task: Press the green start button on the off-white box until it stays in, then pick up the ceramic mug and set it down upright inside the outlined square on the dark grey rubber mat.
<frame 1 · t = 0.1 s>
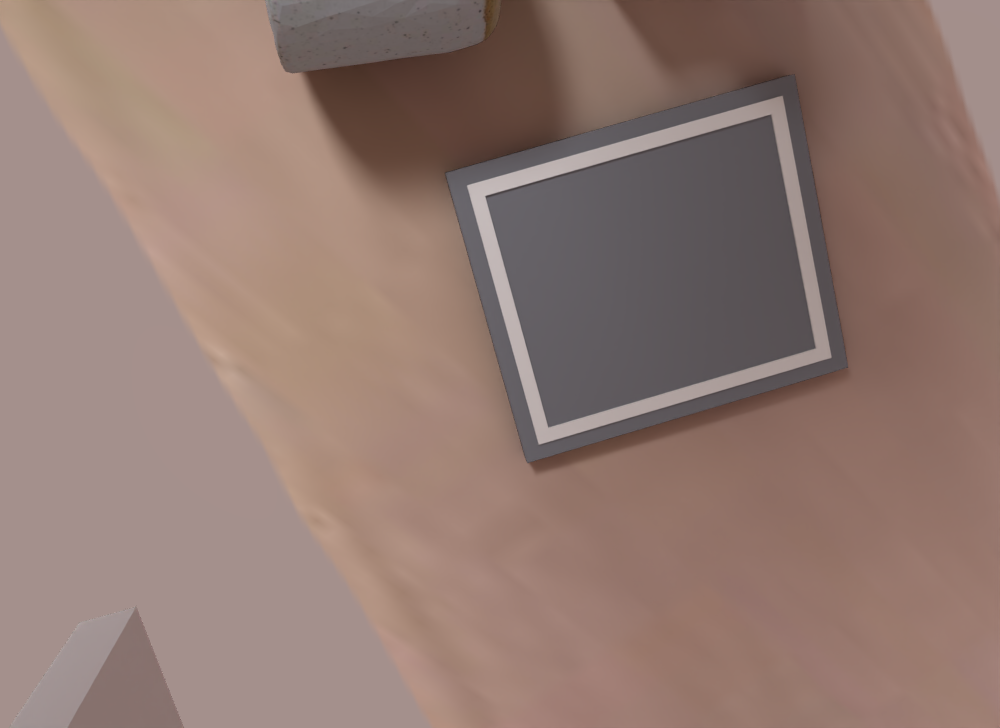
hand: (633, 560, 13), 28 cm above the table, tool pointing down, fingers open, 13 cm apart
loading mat: (651, 272, 40), on the table
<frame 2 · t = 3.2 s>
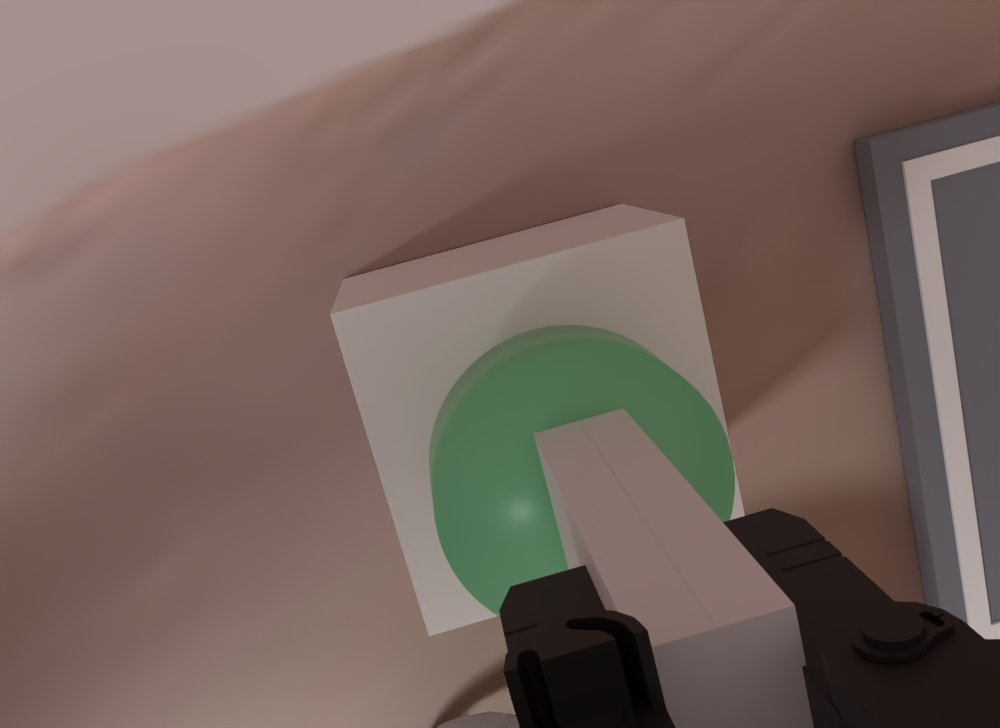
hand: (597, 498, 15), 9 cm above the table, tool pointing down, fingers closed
start button: (575, 476, 16), point 7 cm above the table, slide at 0.8 cm, touching gripper
button box: (518, 376, 23), on the table
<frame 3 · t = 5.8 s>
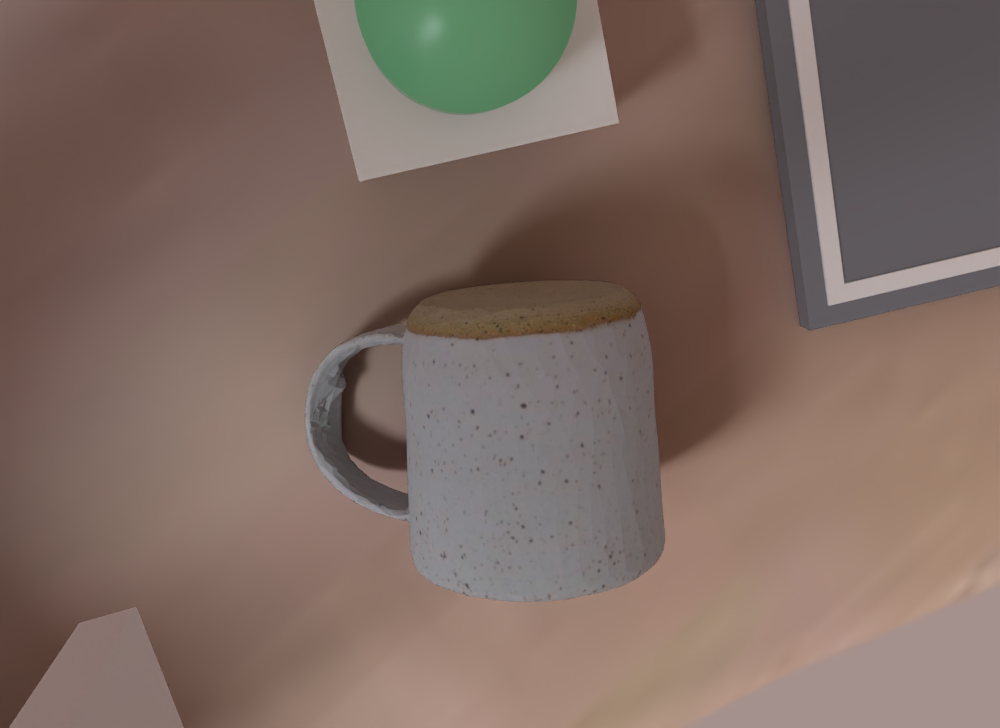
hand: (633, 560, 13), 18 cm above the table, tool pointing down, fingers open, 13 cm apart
start button: (464, 2, 22), point 7 cm above the table, slide at 1.4 cm
button box: (451, 35, 28), on the table
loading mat: (962, 57, 30), on the table
ceramic mug: (476, 405, 31), on the table
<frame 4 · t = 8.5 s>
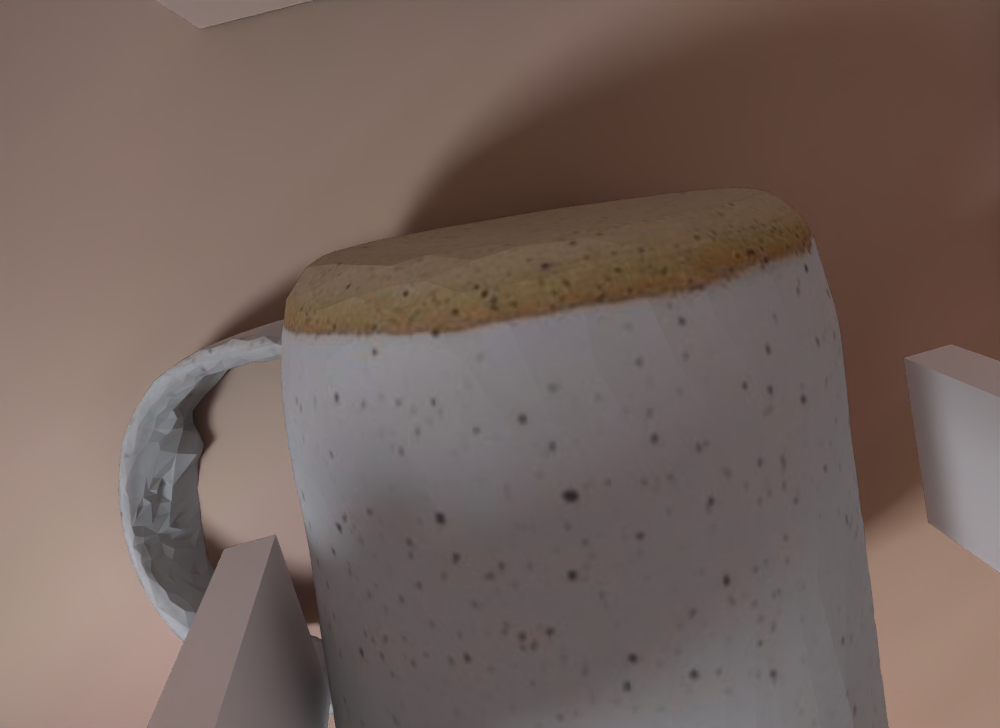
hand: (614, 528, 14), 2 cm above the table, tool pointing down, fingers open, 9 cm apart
ceramic mug: (463, 458, 17), on the table, touching gripper
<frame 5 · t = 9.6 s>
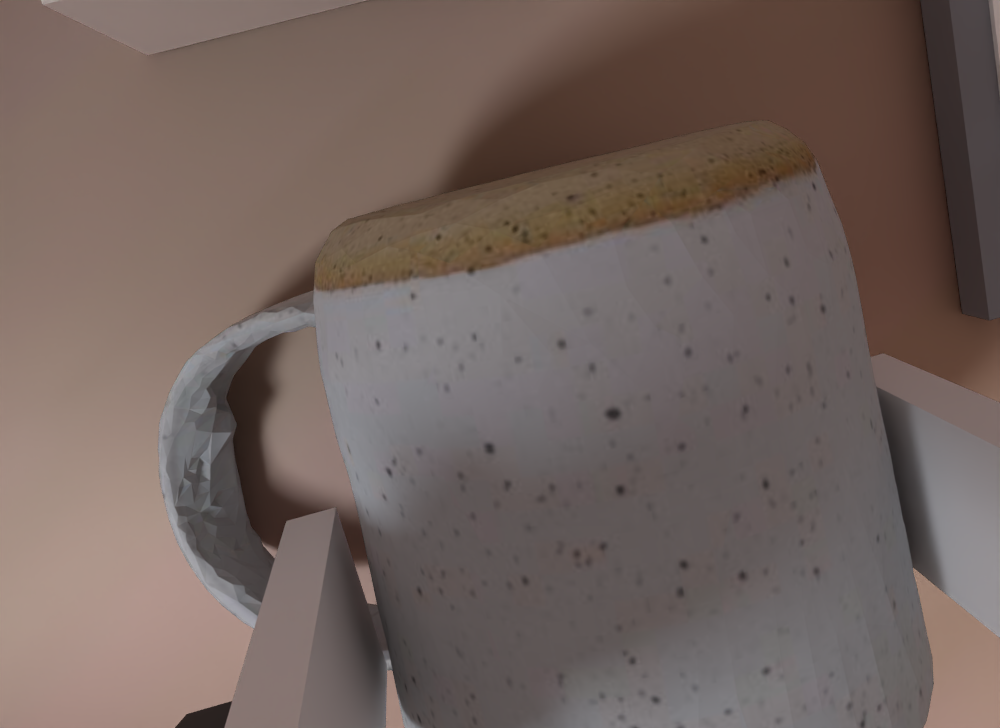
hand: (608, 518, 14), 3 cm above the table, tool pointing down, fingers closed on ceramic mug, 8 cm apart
ceramic mug: (487, 418, 17), on the table, touching gripper
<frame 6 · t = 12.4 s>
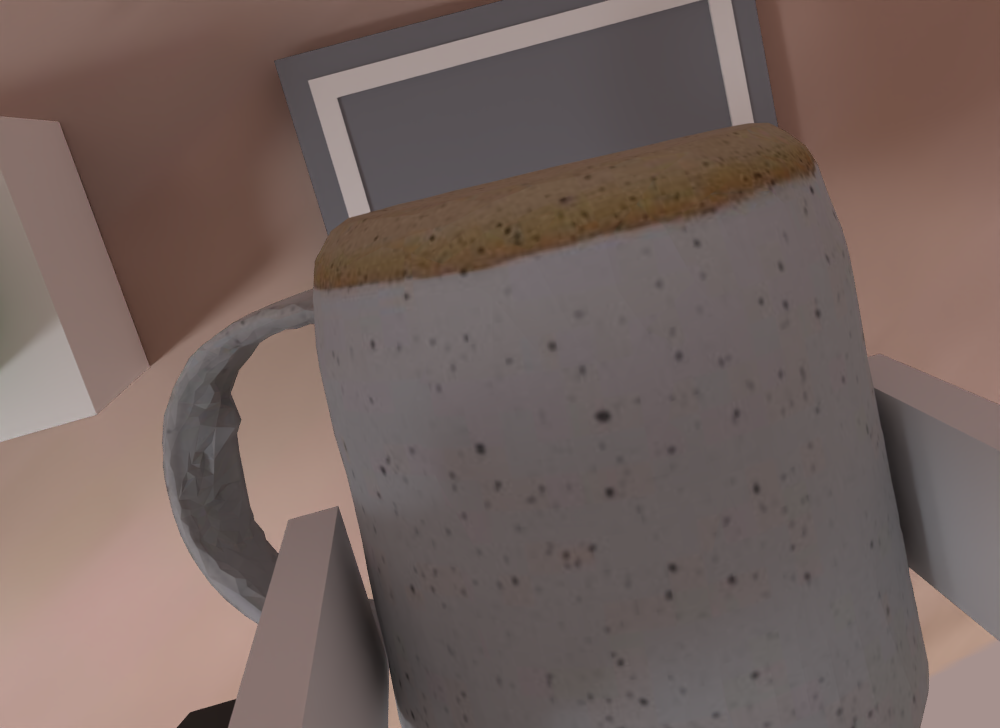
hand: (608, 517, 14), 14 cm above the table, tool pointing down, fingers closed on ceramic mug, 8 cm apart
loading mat: (572, 265, 27), on the table
ceramic mug: (490, 416, 17), point 10 cm above the table, touching gripper
when the fingers open (4 cm above the table, at t = 15.3 s): ceramic mug stays where it is, resting on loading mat.
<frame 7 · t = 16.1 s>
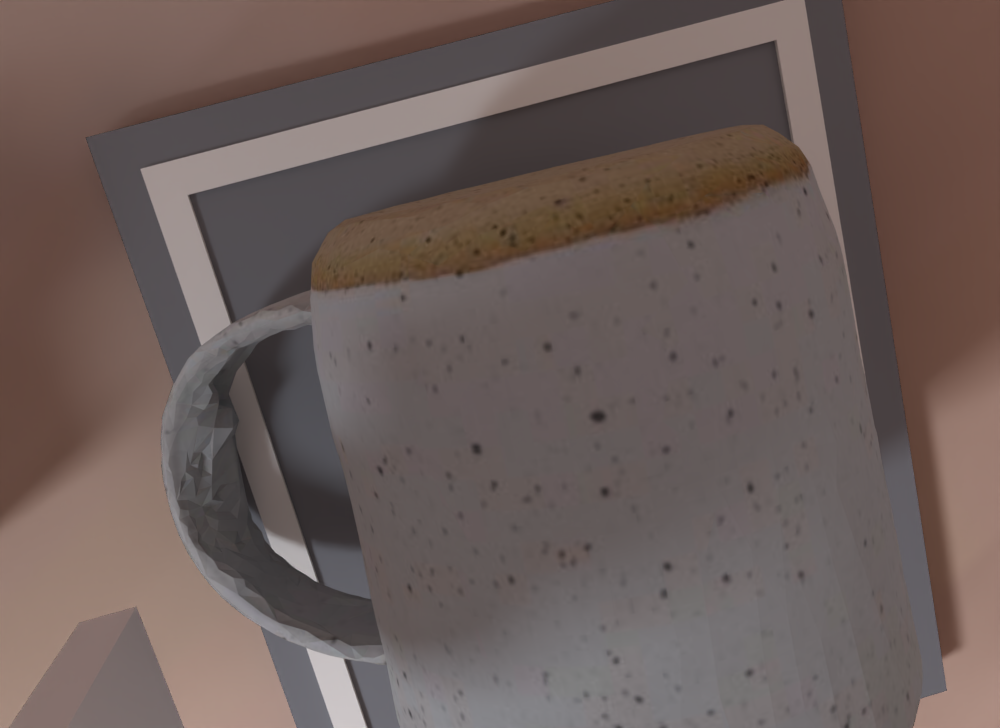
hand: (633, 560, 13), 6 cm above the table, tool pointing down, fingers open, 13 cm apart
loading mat: (561, 435, 18), on the table
ceramic mug: (487, 416, 17), point 1 cm above the table, touching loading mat
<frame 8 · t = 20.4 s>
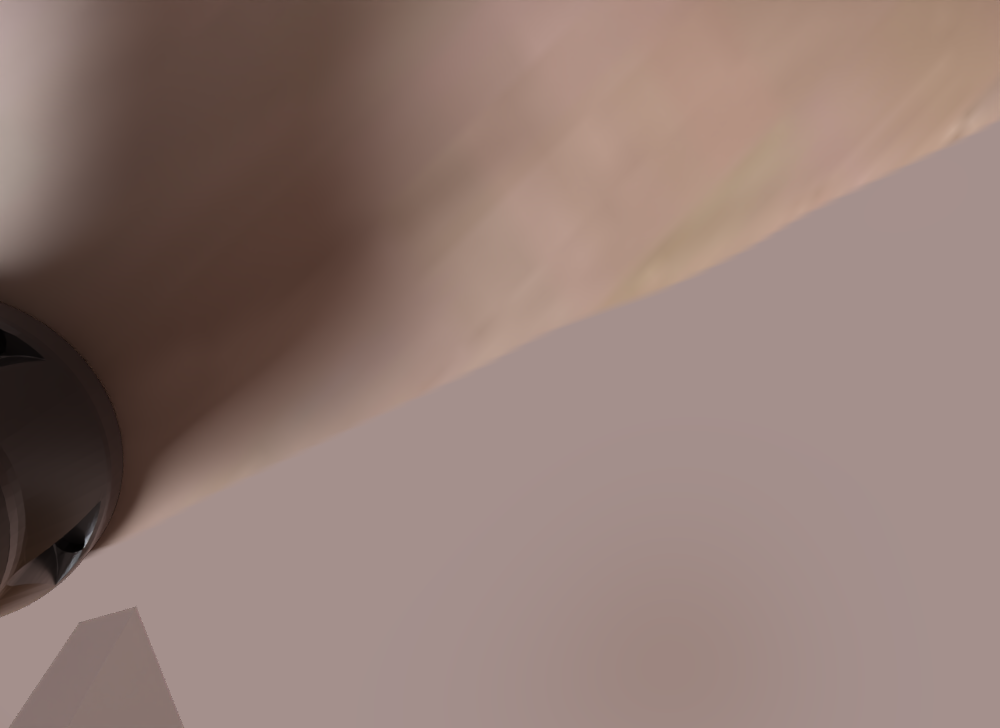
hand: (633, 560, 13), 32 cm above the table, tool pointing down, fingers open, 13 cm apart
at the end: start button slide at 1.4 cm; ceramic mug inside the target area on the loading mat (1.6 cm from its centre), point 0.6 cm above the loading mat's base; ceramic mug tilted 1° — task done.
